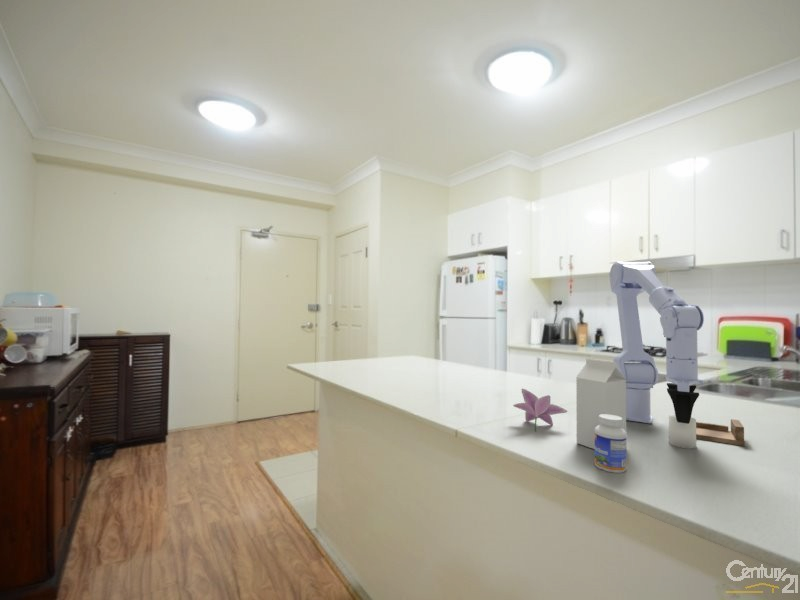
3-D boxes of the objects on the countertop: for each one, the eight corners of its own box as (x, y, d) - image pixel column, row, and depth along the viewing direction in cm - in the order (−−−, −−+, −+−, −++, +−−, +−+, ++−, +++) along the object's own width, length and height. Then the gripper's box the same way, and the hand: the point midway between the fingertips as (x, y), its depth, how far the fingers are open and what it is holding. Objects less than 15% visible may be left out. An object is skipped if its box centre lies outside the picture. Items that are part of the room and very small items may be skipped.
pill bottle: (588, 462, 76) (588, 412, 76) (614, 461, 77) (614, 412, 77) (605, 474, 71) (605, 421, 71) (633, 473, 71) (633, 420, 71)
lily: (573, 437, 94) (571, 399, 99) (542, 424, 89) (542, 385, 94) (532, 439, 103) (532, 404, 108) (502, 428, 98) (504, 391, 103)
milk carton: (605, 454, 81) (605, 363, 81) (576, 443, 87) (576, 359, 87) (626, 448, 84) (626, 361, 84) (596, 438, 90) (596, 357, 91)
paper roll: (669, 445, 86) (668, 418, 86) (668, 439, 90) (668, 413, 90) (697, 450, 83) (696, 421, 83) (695, 443, 87) (695, 416, 88)
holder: (683, 436, 92) (683, 419, 92) (682, 428, 99) (682, 412, 99) (744, 446, 86) (744, 428, 86) (738, 436, 93) (738, 419, 93)
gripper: (707, 363, 79) (708, 429, 79) (701, 356, 91) (702, 414, 91) (665, 360, 83) (666, 423, 83) (665, 354, 95) (665, 409, 95)
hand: (682, 418), depth 87 cm, fingers open, 7 cm apart
